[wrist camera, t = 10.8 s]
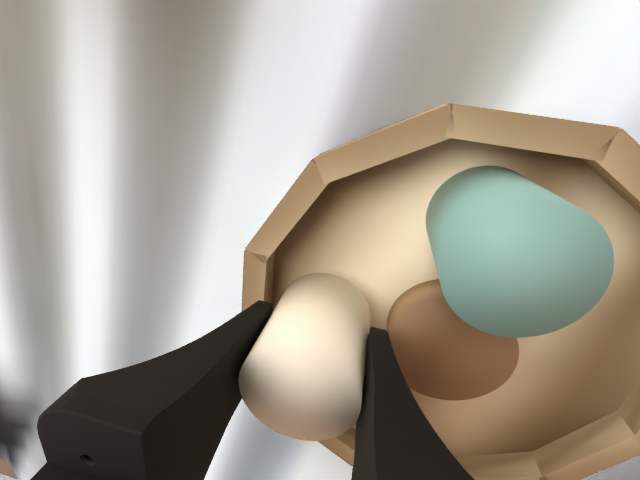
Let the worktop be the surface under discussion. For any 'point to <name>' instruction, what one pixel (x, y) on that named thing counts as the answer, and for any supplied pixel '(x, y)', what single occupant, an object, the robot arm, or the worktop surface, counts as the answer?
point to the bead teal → (515, 253)
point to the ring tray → (403, 255)
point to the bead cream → (310, 360)
